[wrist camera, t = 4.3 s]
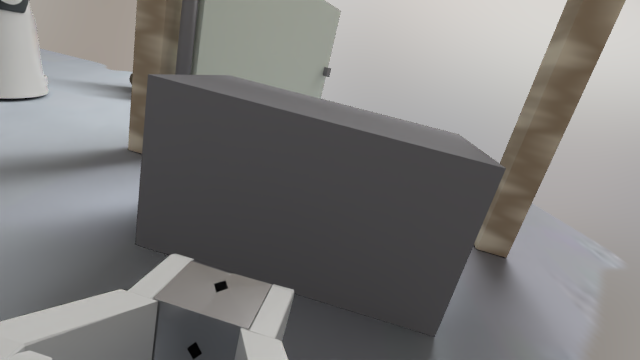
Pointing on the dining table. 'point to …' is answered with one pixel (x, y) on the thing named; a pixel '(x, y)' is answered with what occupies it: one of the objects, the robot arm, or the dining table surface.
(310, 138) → the block
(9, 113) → the dining table surface
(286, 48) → the door
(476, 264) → the dining table surface
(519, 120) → the door frame
